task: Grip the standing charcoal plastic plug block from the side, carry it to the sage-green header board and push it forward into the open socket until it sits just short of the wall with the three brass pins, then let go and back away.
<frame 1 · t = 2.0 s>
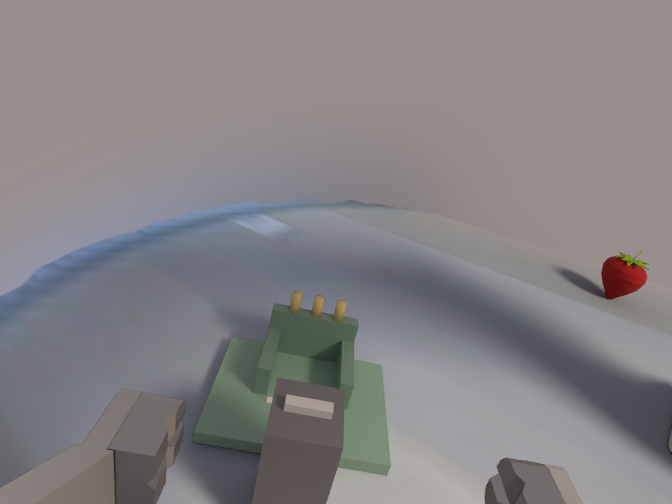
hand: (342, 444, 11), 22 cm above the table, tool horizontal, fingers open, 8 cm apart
header board: (299, 402, 40), on the table
strawberry: (608, 299, 76), on the table
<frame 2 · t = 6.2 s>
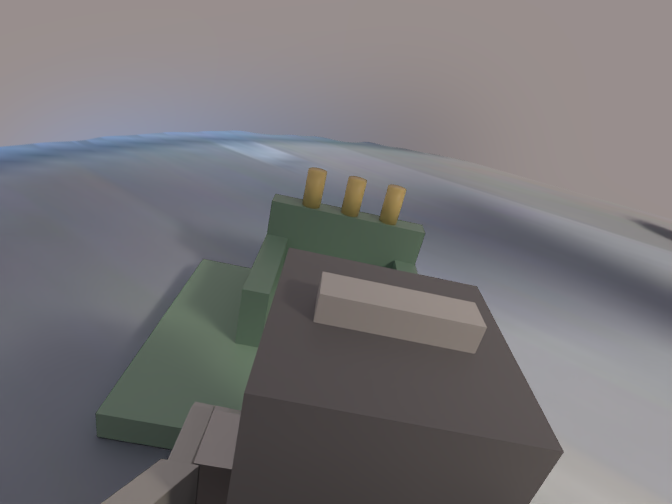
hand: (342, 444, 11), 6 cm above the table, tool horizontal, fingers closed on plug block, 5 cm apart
header board: (321, 365, 21), on the table
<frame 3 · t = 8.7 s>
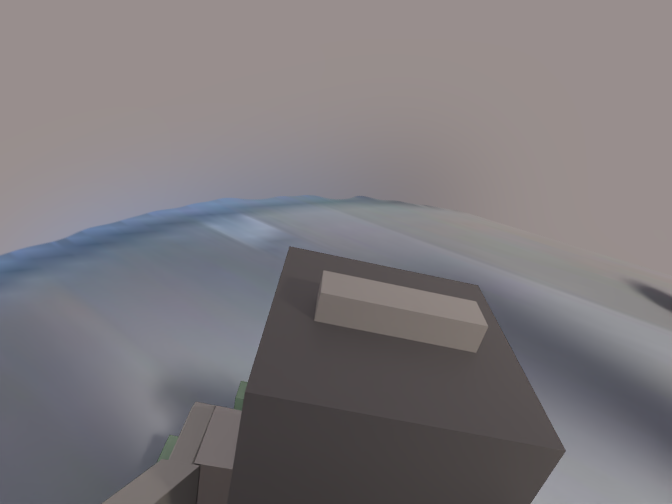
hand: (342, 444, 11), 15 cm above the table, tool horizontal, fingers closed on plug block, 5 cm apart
when the fingers open (8 cm above the table, at t = 11.2 s): plug block drops 2 cm, resting on header board.
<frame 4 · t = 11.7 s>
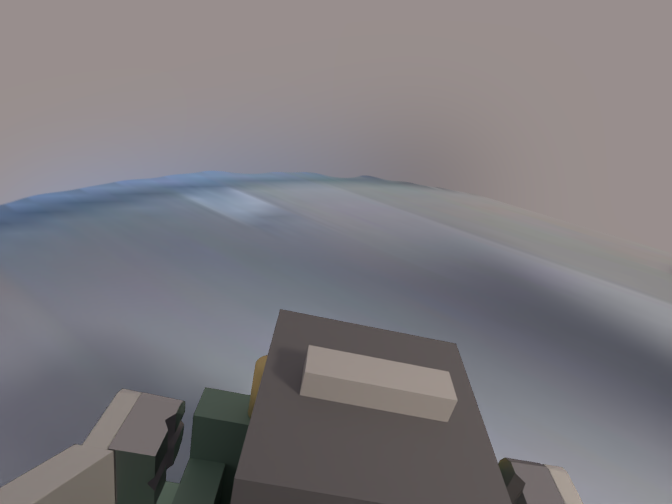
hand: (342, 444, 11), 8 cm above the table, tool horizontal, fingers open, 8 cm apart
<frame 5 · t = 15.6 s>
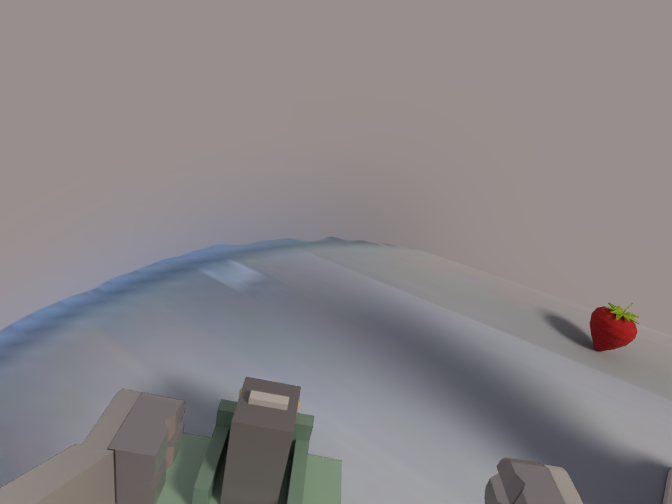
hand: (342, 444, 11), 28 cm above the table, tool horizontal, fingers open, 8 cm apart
strawberry: (596, 350, 72), on the table
plug block: (253, 484, 37), point 1 cm above the table, touching header board
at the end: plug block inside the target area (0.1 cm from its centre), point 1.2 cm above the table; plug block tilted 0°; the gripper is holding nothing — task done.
